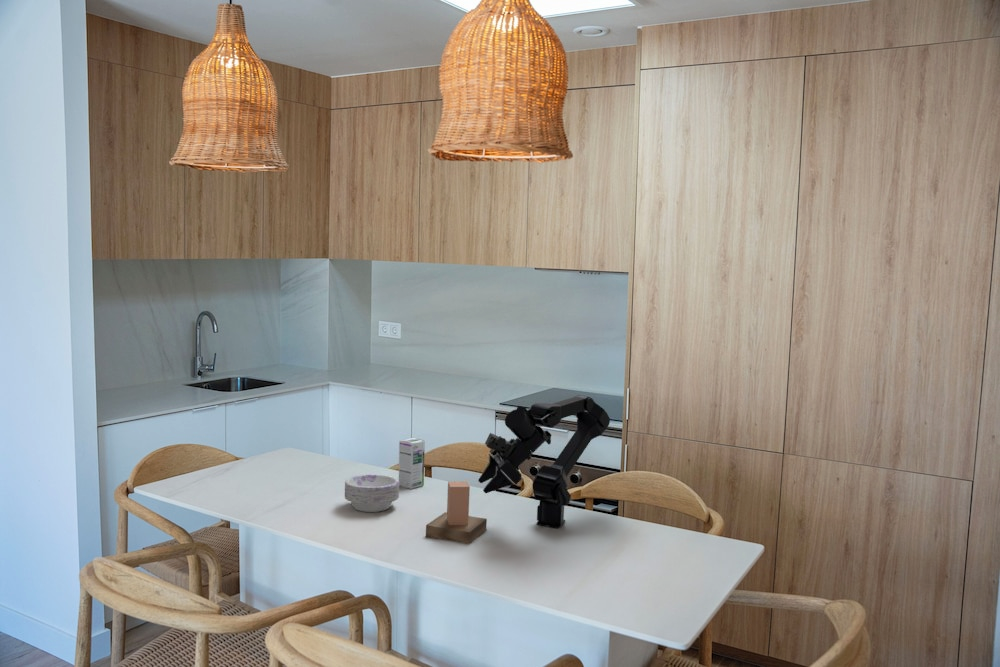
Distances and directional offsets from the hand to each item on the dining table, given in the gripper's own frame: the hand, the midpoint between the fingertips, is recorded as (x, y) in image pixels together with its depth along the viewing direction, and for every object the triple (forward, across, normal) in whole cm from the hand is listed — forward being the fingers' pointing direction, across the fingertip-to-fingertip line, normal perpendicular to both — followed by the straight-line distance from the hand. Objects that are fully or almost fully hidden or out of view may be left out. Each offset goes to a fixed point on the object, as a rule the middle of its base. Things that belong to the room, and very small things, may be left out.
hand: (481, 486), depth 212 cm
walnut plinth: (+13, 0, +4) cm, 14 cm away
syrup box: (+20, -44, -2) cm, 48 cm away
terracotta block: (+11, 0, +2) cm, 11 cm away
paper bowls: (+29, -22, -11) cm, 38 cm away
